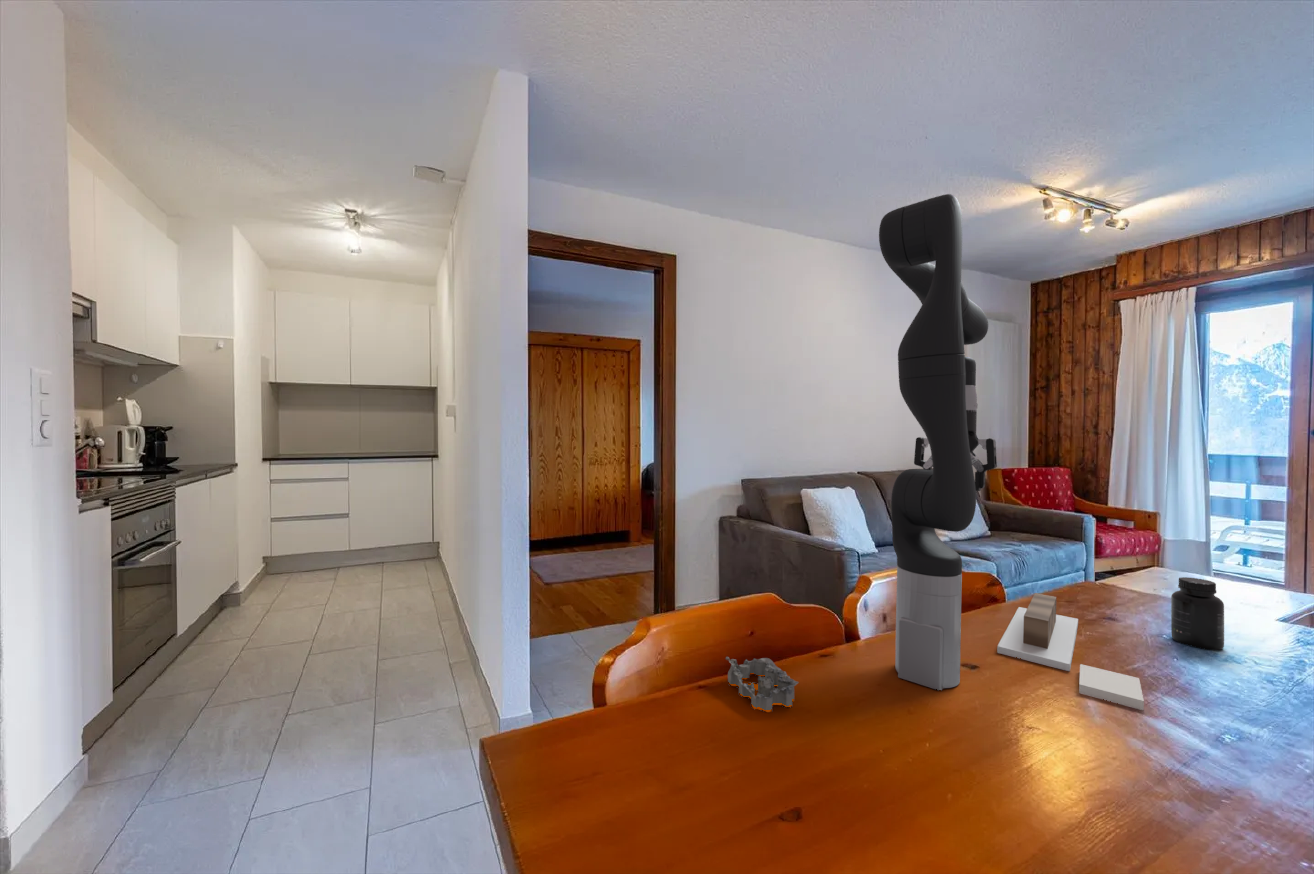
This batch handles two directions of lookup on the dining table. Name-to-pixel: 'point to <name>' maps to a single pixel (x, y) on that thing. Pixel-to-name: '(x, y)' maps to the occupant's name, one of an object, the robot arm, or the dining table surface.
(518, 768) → the dining table surface
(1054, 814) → the dining table surface
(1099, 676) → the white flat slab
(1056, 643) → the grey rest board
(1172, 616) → the supplement bottle
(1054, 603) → the brown wooden block
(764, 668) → the cookie cutter
